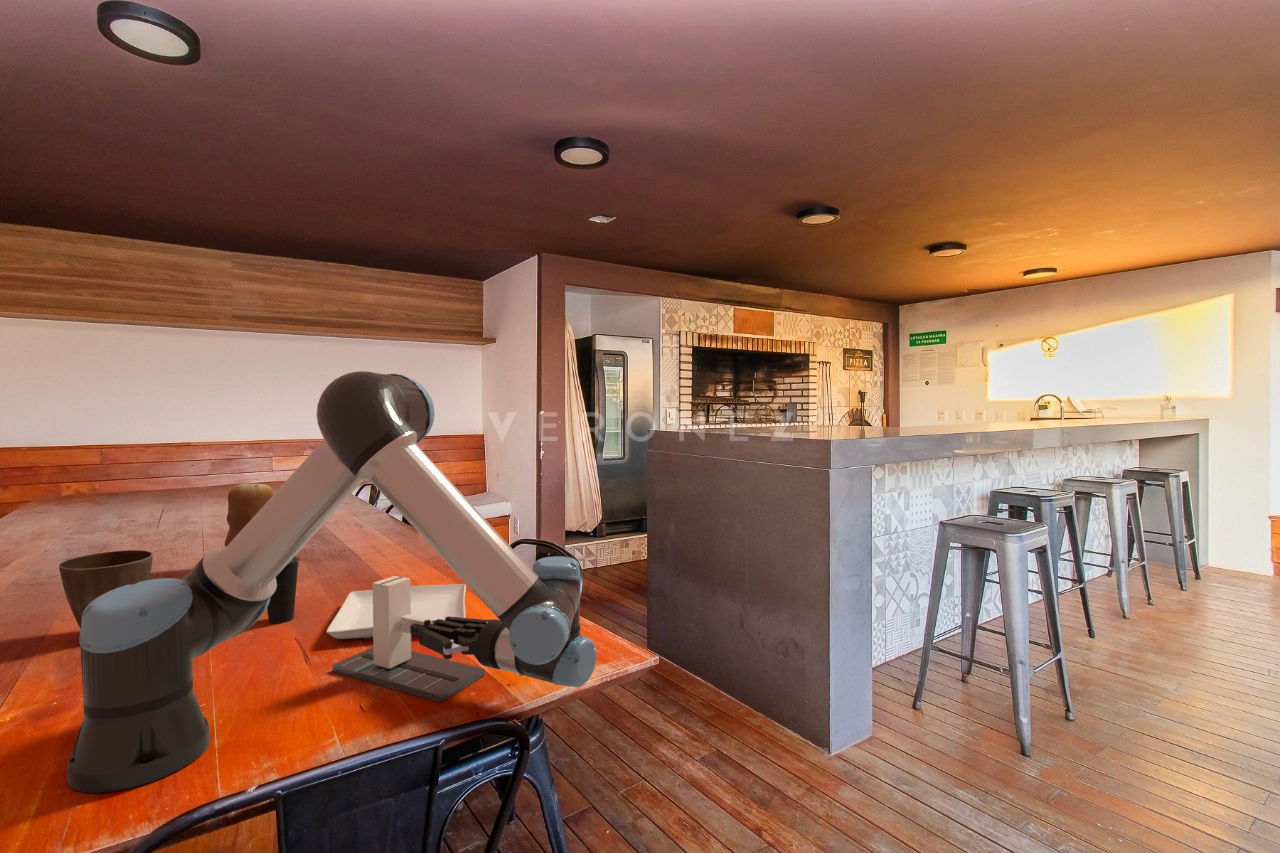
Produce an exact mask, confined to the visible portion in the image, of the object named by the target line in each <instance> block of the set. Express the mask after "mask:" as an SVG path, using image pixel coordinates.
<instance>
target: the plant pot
mask: <svg viewBox="0 0 1280 853" xmlns="http://www.w3.org/2000/svg"><path fill="white" fill-rule="evenodd" d="M153 557H154V552H153V551H148V550H140V549H139V550H137V549H135V550H133V549H132V550H130V549H129V550H127V549H126V550H115V551H114V550H113V551H106V552H98V553H92V554H86V555H81V556H77V557H73V558H70V559H66V560H65V561H62V562H60V563H59V564H58V569H59V574H60V578H61V582H62V587H63V591H64V594H65V595H66V596H65V598H66V599H67V602H68V604H69V607H70V609H71V613H72V614H73V616H74V618H75V621H76V623H77V625H78V627H79V629H80V630H81V622H82V614H83V612H84V610H85V608H86V607H87V606H88V605H89V604H90V603H91V602H92V601H93V600H94V599H96V598H97V597H99V596H101V595H103V594H105V593H107V592H109V591H111V590H114V589H116V588H119V587H122V586H125V585H134V584H136V583H138V582H141V581H146V580H150V577H151V572H152V565H153V559H154V558H153Z"/></svg>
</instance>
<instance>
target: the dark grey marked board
mask: <svg viewBox="0 0 1280 853" xmlns="http://www.w3.org/2000/svg"><path fill="white" fill-rule="evenodd" d="M331 671H332V672H333V673H336V674H341V675H344V676H346V677H350V678H354V679H358V680H360V681H364V682H368V683H371V684H375V685H377V686H382V687H385V688H388V689H392V690H394V691H395V690H396V691H398V692H403V693H406V694H408V695H412V696H415V697H420V698H422V699H425V700H429V701H432V702H437V703H440V704H441V703H442V702H444V701H445V700H447V699H449V698H450V697H452V696H454V695H455V694H457V693H458V692H460V691H462V690H464V689H465V688H467V687H469V686H470V685H473V684H474V683H475V682H476V680H477V681H478V680H480V679H481V678H480V677H482V676H483V675H485V674H486V671H485V668H482V667H478V666H473V665H469V664H466V663H461V662H458V661H453V660H451V659H444V658H442V657H437V656H435V655H434V656H433V655H429V654H425V653H422V652H418V651H413V650H411V659H409V660H407V661H404V662H402V663H400V664H398V665H396V666H394V667H392V668H390V669H388V668H385V667H381V666H377V665H374V651H373V646H372V647H370V648H368V649H364V651H361V652H359V653H356V654H353V655H352V656H349V657H347V658H345V659H343V660H341V661H338V662H336V663H333V664H332V665H331ZM483 677H484V676H483ZM483 677H482V678H483ZM479 678H480V679H479Z"/></svg>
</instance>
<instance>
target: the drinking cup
mask: <svg viewBox="0 0 1280 853" xmlns="http://www.w3.org/2000/svg"><path fill="white" fill-rule="evenodd" d="M300 559H301V558H300V556H297V555H295V556H294V557H293V558H292V560H291V561H290V562H289V563H288V564H287V565H286V566H285V567H284V568H283V569H282V571H281V572H280V573H279V574H278V575H277V576H276V577H275V578H276V582H277V587H276V590H275V592H274V593H273V595H272V596H271V597H270V602H269V604H268V607H267V609H266V611H267V617H268V623H269V622H270V623H269V624H273V623H278V624H283V622H284V623H288V622H290V621H292V620H293V619H294V618H295V616H294V615H295V607H296V597H297V596H296V595H297V594H296V593H297V582H298V571H299V562H300V561H301V560H300Z"/></svg>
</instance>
